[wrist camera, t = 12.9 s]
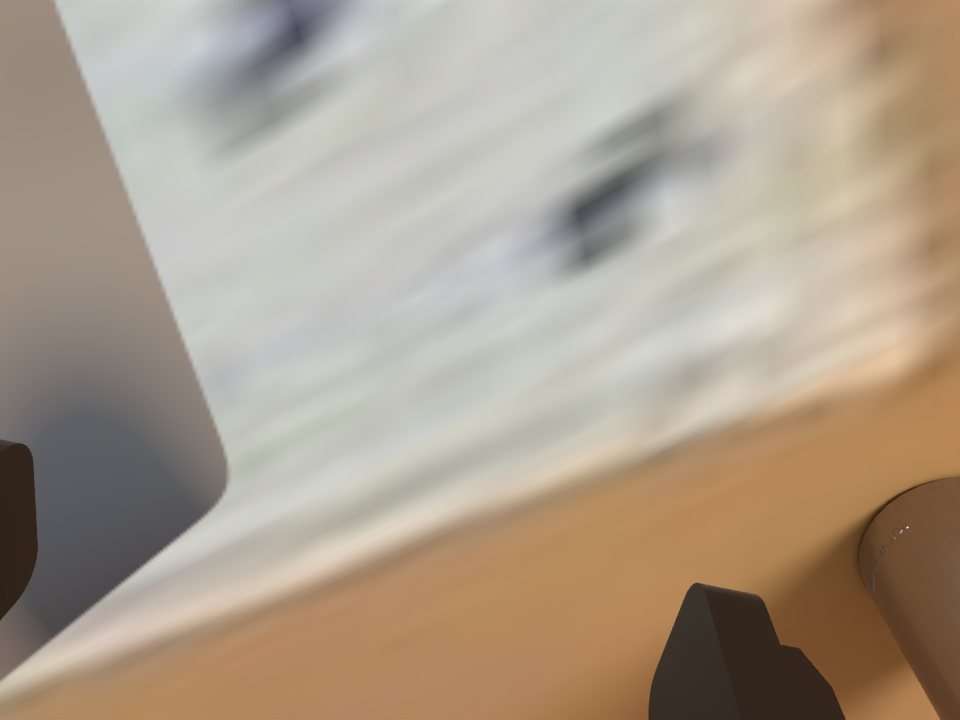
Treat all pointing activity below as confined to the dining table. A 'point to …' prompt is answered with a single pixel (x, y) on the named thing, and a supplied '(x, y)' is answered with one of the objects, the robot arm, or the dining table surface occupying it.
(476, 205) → the dining table surface
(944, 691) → the robot arm
